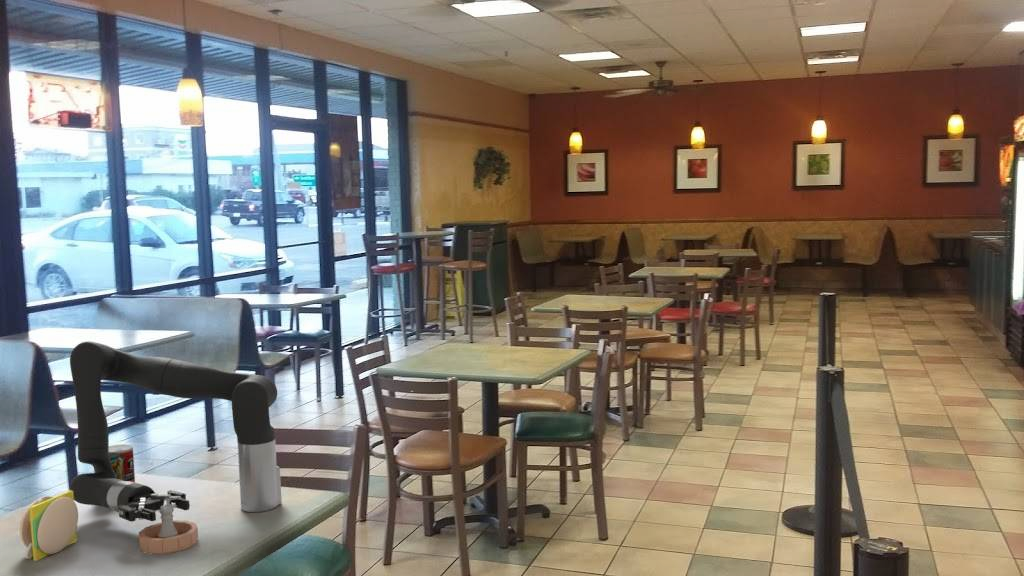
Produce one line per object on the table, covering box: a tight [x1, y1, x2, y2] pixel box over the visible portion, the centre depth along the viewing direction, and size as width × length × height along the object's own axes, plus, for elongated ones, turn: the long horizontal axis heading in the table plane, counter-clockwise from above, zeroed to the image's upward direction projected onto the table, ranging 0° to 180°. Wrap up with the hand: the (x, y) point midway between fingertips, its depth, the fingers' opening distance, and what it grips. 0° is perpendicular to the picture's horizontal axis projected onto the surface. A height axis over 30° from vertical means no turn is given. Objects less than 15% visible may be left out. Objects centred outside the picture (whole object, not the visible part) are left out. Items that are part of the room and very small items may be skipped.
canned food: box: [108, 443, 136, 483], centre depth 253 cm, size 8×8×11 cm
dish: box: [138, 520, 199, 555], centre depth 210 cm, size 12×12×3 cm
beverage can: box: [93, 453, 124, 481], centre depth 241 cm, size 7×7×12 cm
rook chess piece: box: [158, 504, 178, 538], centre depth 209 cm, size 4×4×8 cm
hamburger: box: [19, 490, 79, 562], centre depth 207 cm, size 12×8×12 cm
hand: (171, 511), depth 208 cm, fingers open, 8 cm apart
